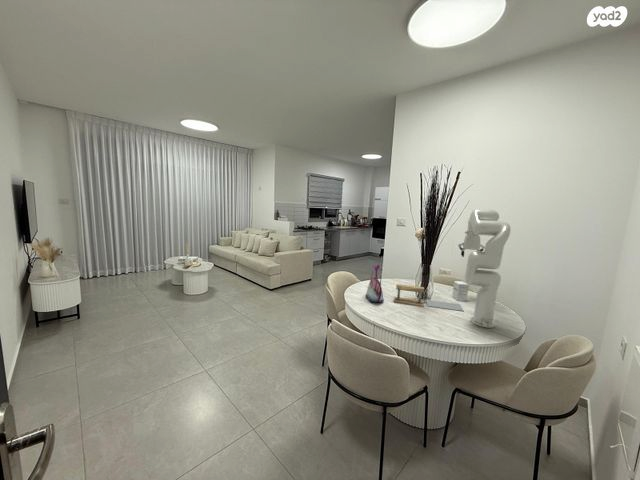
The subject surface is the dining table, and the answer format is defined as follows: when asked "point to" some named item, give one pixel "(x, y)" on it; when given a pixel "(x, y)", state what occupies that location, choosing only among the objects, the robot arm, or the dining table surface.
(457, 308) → the slate mat
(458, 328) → the dining table surface
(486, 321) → the robot arm
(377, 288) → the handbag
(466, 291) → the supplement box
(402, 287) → the oak rail
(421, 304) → the hook stand
